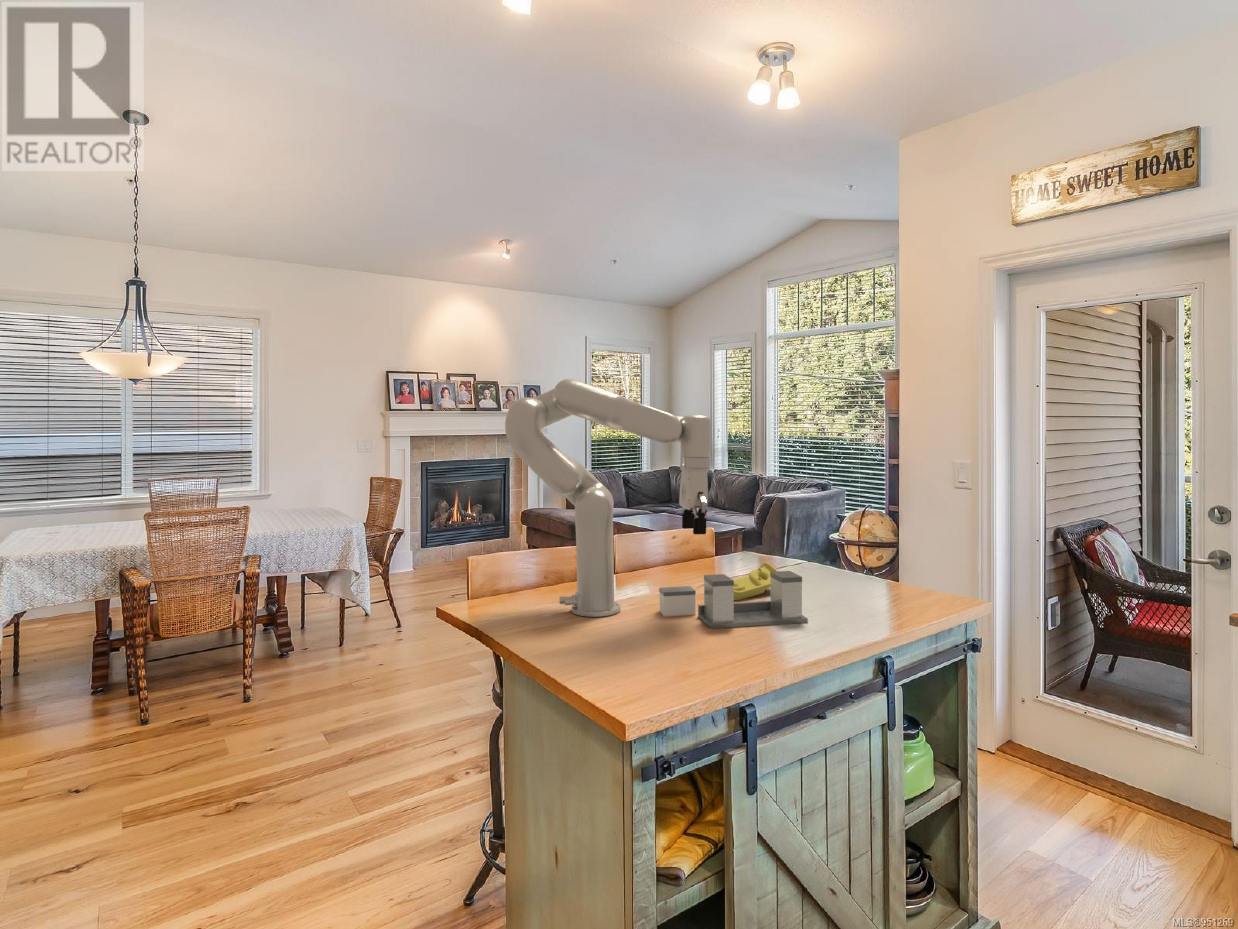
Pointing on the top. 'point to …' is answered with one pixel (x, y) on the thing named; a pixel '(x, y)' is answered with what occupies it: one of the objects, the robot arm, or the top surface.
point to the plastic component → (753, 582)
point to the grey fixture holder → (752, 603)
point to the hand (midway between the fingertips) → (693, 531)
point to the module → (677, 601)
